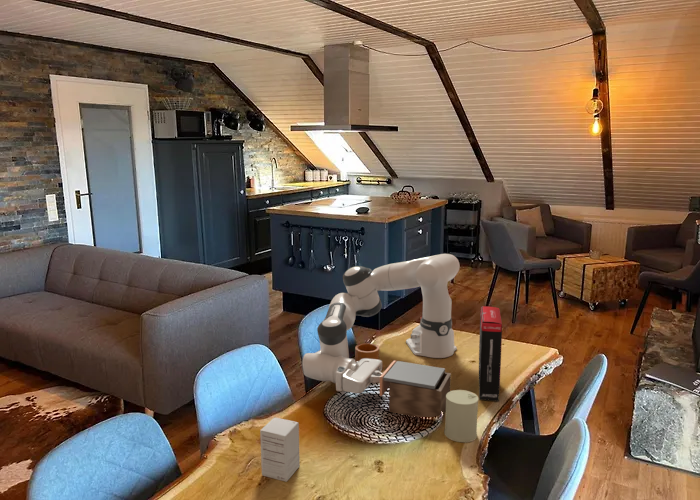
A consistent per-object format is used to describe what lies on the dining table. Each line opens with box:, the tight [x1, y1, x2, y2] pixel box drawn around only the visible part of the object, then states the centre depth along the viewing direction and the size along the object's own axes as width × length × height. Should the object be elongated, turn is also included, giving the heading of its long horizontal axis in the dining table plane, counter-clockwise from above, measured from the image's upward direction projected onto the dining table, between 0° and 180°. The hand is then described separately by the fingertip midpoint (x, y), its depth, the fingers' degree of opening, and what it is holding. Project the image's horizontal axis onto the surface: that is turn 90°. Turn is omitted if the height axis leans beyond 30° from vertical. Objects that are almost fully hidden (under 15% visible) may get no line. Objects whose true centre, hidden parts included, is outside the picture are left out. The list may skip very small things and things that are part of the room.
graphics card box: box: [478, 305, 503, 402], centre depth 182 cm, size 17×7×27 cm, turn 168°
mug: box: [354, 342, 380, 362], centre depth 201 cm, size 9×12×9 cm
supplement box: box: [259, 417, 301, 482], centre depth 138 cm, size 7×7×13 cm
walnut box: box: [388, 371, 452, 417], centre depth 172 cm, size 16×14×10 cm
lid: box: [379, 359, 446, 397], centre depth 172 cm, size 17×14×6 cm
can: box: [443, 389, 480, 443], centre depth 156 cm, size 9×9×12 cm
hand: (386, 378), depth 175 cm, fingers closed
